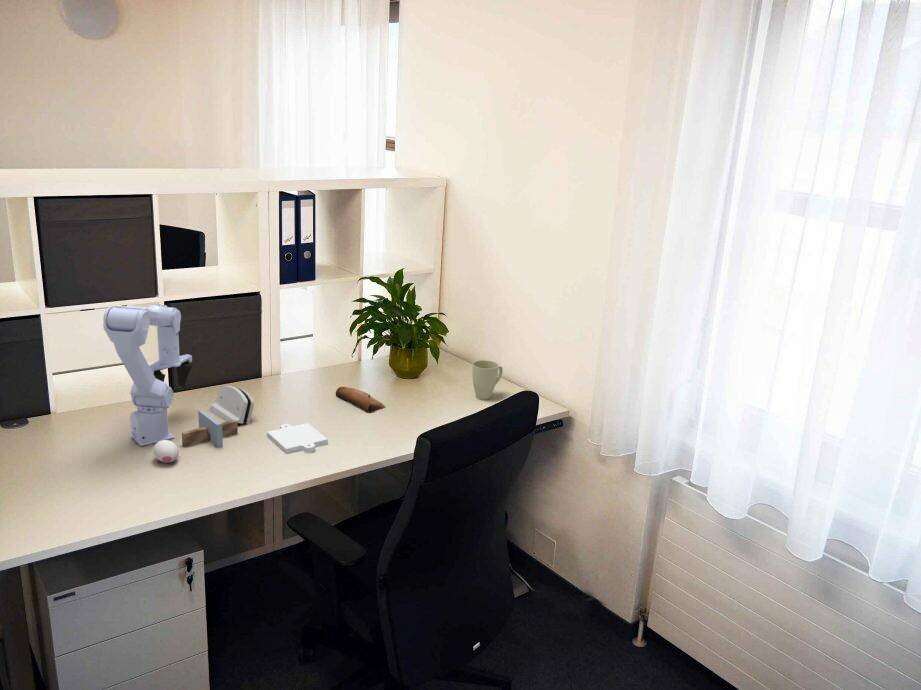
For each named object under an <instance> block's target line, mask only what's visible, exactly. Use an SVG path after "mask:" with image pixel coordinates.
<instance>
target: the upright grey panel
mask: <svg viewBox="0 0 921 690" xmlns="http://www.w3.org/2000/svg"><path fill="white" fill-rule="evenodd" d="M197 414H198V428H202V427H205V428H207V433H209V434H210V441H209V442H210V443H211V444H212V445H214V446H215V447H216V448H222V447H223V446H224V443H223V439H224V437H223V438H222V423H223V422H221V421H219V420H218V419H216V418H215V417H214V416H212V415H211V414H210V413H209V412H207V411H206V410H205V409H201V410H198V411H197Z"/></svg>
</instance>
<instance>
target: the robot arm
mask: <svg viewBox="0 0 921 690" xmlns="http://www.w3.org/2000/svg"><path fill="white" fill-rule="evenodd" d="M181 321H182V314H181V311H180V310H179V309H178V308H177V307H169V306H168V305H166V304H161V303H158V302H157V303H155V302H153V304H152V305H151V304H150V305H148V306H147V307H144V306H136V305H117V306H115V307H114V306H109V307H107V309H106V310H105V312H104V313H103V323H102V324H103V325H102V327H103V330H104V332H105V333H106V335H107V337H108V339H109V341H110V342H111V343H113V346H114V349H115V351H116V354H117V356H118V357H119V360H121V362H122V364H123V366H124V368H125V370H126V372H127V373H128V375H129V377H130V378H131V380H132V382H133V383H132V384H131V387H130V391H129V395H130V396H131V402H132V404H133V405H134V406H135V407H136V410H135V411H133V412H132V411H131V412H130V437H131V438H132V439H133V440H134V441H135V442H136V443H137V444H138V445H139V446H147V445H151V444H156V443H157V442H159V441H161V440H172V439H175V437H174V435H173V434H172V433H171V432H169V421H168V418H169V417H168V409H169V408H170V407H171V406H172V405H173V401H174V391H173V389H172V387H171V386H168V384H167V383H166V382H165V377H166V374H164V373H163V372H162V371H163V370H166V369H169V368H172V367H173V368H175V369H176V374H177V383H178V386H179V387H182V388H185V387H186V383H187V379H188V376H189V374H190V371H191V370H192V368H193V364H192V362H193V356H192V355H191V354H187V353H186V354H182V355H180V340H179V333H180V330H181ZM150 326H152V327H156V331H157V332H156V333H157V346H158V347H157V348H158V360H157V361H155V362H154V363H152V364H150V365H149V363H148V361H147V360H146V357H145V355H144V354H143V352H142V350H141V348H140V347H141V346H143V345H145V344H146V341H147V338H148V334H149V333H148V332H149V329H150Z"/></svg>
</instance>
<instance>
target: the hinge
mask: <svg viewBox="0 0 921 690" xmlns="http://www.w3.org/2000/svg"><path fill="white" fill-rule="evenodd" d="M254 406H255V401H254V399H253V397H252V396H251V395H250V394H249V393H248V391H246V390H245V389H243V388H240V387H237V386H233V385H222V386H220V389H219V390H218V393H217V396H216V398H215V401H214V402H213V403H212V404H211V405H210V407H209V412H211V413H213V414H214V415H215V416H217V417H219V418H220V419H221V420H223V421H224V422H227V421H231V420H236V421H237V424H241V425H242V424H246V425H250V423H251V420H252V416H253V412H254V408H255V407H254Z"/></svg>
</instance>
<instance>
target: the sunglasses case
mask: <svg viewBox="0 0 921 690" xmlns="http://www.w3.org/2000/svg"><path fill="white" fill-rule="evenodd" d="M335 396H336V397H338V398H341V399H344V400H346V401H348V402H350V403H352V404H354V405H356V406H357V407H359V408H361V409H363V410H365V411H366V412H368V413H369V414H370V413H373V412H377V410H378V411H380V409H381V410H383V409H386V408H387V407H386V406H385V405H384V404H383V403H382V402H381V401H379V400H378V399H376V398H374V397H373V396H371V394H369V393H367V392H365V391H363V390H359V389H356V388H353V387H347V386H340V387H338V388H337V389H336V391H335ZM385 407H386V408H385Z"/></svg>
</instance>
